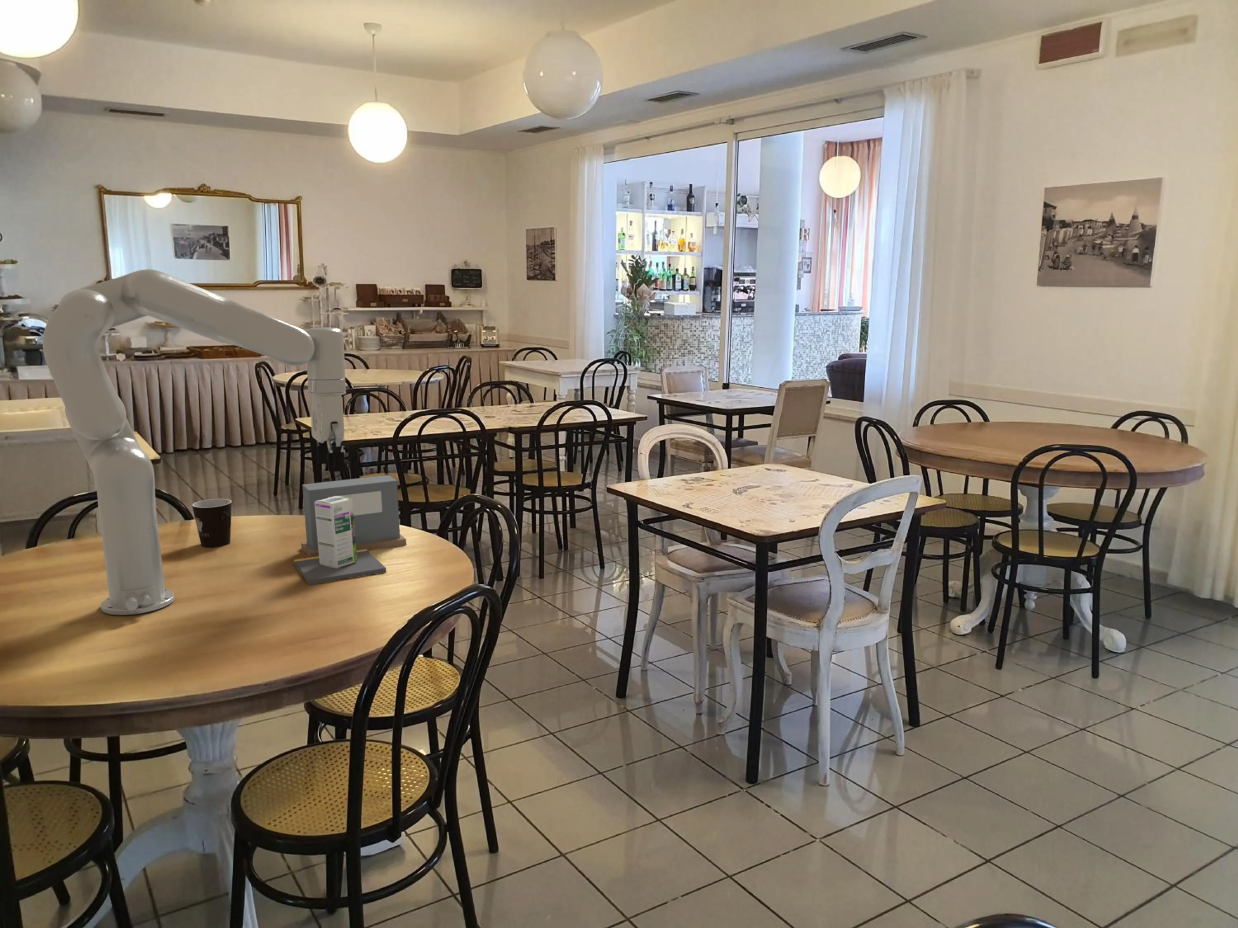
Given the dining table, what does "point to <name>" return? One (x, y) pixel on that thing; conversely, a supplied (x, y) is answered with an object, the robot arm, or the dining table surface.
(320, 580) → the mat
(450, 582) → the dining table surface
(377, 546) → the box
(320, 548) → the syrup box
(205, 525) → the coffee mug
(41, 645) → the dining table surface
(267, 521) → the dining table surface
